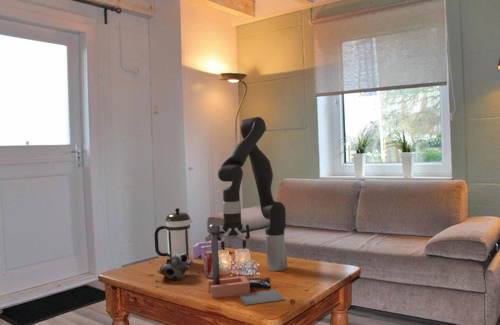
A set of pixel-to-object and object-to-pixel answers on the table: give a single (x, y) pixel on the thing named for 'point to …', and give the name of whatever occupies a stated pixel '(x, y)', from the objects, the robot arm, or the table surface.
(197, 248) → the clip
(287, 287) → the table surface
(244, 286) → the c link
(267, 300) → the felt mat
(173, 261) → the dark grey lumpy piece
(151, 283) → the table surface
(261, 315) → the table surface
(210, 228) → the stand
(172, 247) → the coffee press
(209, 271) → the soda can
